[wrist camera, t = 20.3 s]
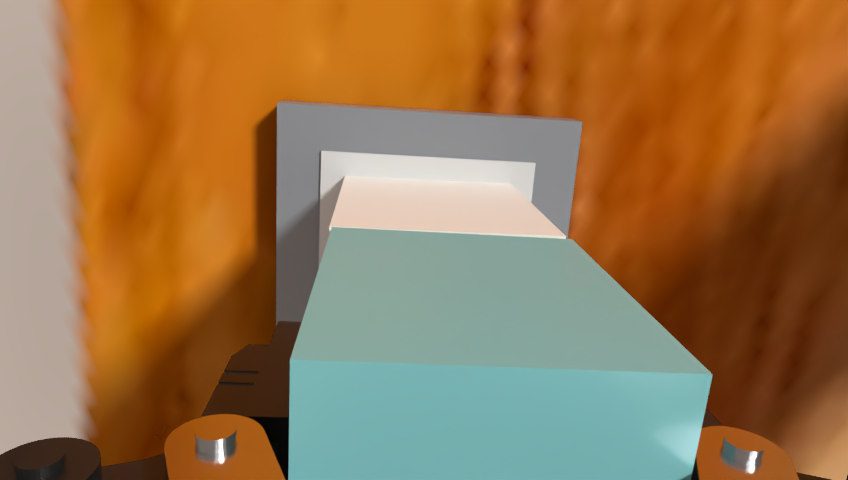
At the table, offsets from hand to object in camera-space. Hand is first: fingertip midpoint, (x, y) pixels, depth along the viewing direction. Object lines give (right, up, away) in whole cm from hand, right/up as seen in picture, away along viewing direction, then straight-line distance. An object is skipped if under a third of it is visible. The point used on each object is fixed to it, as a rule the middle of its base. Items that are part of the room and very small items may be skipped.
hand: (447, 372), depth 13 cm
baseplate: (-1, +2, +8) cm, 9 cm away
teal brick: (0, 0, +1) cm, 1 cm away
